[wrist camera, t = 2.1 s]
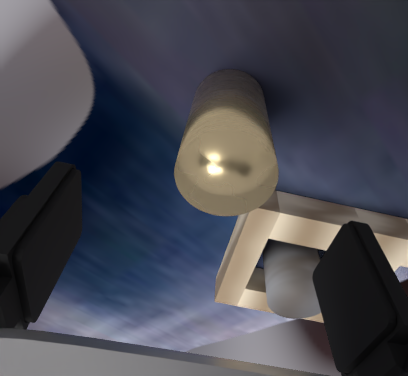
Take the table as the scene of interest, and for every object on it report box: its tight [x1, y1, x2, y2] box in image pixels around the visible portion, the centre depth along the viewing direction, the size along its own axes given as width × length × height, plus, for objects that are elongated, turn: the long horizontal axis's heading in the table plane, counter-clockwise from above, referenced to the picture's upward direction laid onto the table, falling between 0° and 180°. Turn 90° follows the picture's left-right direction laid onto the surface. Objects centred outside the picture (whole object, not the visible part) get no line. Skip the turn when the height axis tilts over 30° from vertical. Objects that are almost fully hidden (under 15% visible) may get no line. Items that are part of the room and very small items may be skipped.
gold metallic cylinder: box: [174, 69, 279, 216], centre depth 17 cm, size 4×4×8 cm
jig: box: [215, 190, 408, 323], centre depth 25 cm, size 20×11×5 cm, turn 78°
